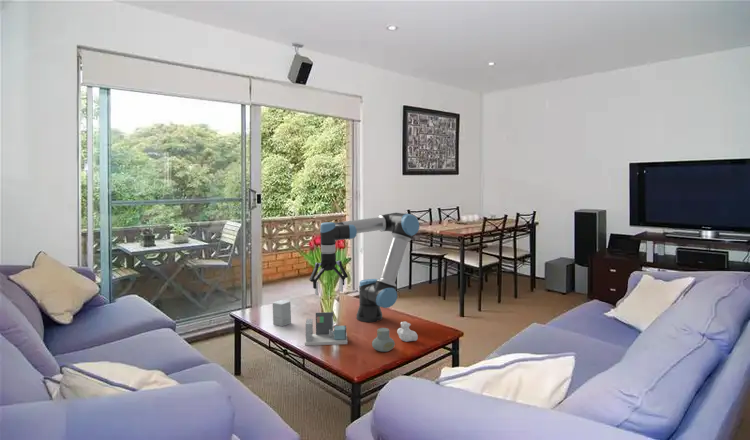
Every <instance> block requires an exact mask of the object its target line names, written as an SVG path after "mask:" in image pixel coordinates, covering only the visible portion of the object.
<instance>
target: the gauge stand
mask: <svg viewBox="0 0 750 440" xmlns="http://www.w3.org/2000/svg"><path fill="white" fill-rule="evenodd" d="M332 316H333V317H334V311H326V312H324V311H323V312H315V333H313V338H312V342H306V337H305V339H304V346H306V347H307V346H326V345H328V346H330V345H348V333H347V332H346V339H336V340H334V334H330V336H329V330H330V331H332Z"/></svg>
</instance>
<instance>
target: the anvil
mask: <svg viewBox="0 0 750 440" xmlns="http://www.w3.org/2000/svg"><path fill="white" fill-rule="evenodd" d="M313 322H314V321H313V318H306V320H305V338H306V342H312V338H313V334H314V330H313V329H314V328H313V327H314V325H313V324H314V323H313Z"/></svg>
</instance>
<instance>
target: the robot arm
mask: <svg viewBox="0 0 750 440" xmlns="http://www.w3.org/2000/svg"><path fill="white" fill-rule="evenodd" d="M419 230H420V222H419V219H418V218H417V216H416V215H414V214H411V213H403V212H393V213H386V214H380V215H378V216H377V217H371V218H370V217H369V218H363V219H356V220H355V219H353V220H346V221H339V222H338V221H337V222H332V221H329V222H328V221H327V222H321V224H320V230H319V231H320V233H319V234H320V252H321V253H320V262H315V263H314V268H313V270H312V272H311V275H310V276H309V281H310V282H311V283H312V288H313V289H314V295H316V296H318V295H319V282H318V280H320V278H321V276H322V275H323V274H324V273H325V271H326V272H328V271H334V272H335V273H336V274H337V276H339V281H338V282H339V292H341V293H343V292H344V285H345V280H346V278H347V279H348V277H349V276H348V274H347V272H346V270H345V268H344V266H343V262H342V260H339V259H338V260H337V259H336V258H337V257H336V255H337V254H336V252H337V251H336V242H337V241H341V240H351V239H353V240H354V239H355V238H356V236H357V235H358V234H363V233H369V232H377V231H380V232H391V236H392V240H391V243H390V247H389V249H388V253H387V256H386V260H385V262H384V266H383V269H382V272H381V275H380V277H379V278H366V279H362V280H360V281H359V284H358V289H359V291H358V292H359V293H358V295H359V297H358V298H359V306H358V309H357V312H356V320H357V321H359V322H363V323H365V322H366V323H374V322H379V321H381V320H383V312H382V310H381V308H383V309H389V308H390V307H393V306H394V305H395V304H396V302H397V300H398V292H397V291H396V290H397V284H396V280H397V277H398V273H399V271H400V267H401V264H402V261H403V258H404V255H405V252H406V249H407V245H408V242H410V241H411V240H412V238H413V236H414V235H416V234H417V233H419ZM320 266H321V268H320ZM336 266H338V268H339V270H338V268H337V267H336ZM319 268H320V269H319Z"/></svg>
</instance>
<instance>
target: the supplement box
mask: <svg viewBox="0 0 750 440" xmlns="http://www.w3.org/2000/svg"><path fill="white" fill-rule="evenodd" d="M291 308H292V307H291V301H289V300H285V299H280V300H276V301H274V302H272V324H273V325H274V326H279V327H284V326H287V325H290V324H291V323H292V313H291V312H292V310H291Z"/></svg>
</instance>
